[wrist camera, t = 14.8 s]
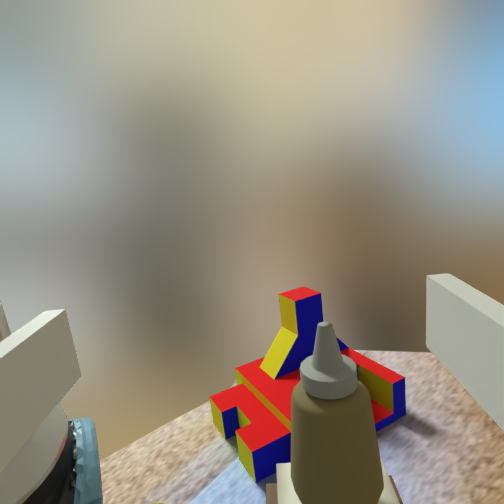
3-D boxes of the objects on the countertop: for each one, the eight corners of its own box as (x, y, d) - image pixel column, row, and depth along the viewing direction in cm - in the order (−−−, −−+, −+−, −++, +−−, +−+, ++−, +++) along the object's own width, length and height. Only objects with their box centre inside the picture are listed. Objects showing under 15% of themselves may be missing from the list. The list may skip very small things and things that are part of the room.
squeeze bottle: (403, 505, 32) (397, 319, 29) (351, 576, 27) (336, 361, 23) (329, 458, 39) (316, 299, 35) (276, 510, 33) (254, 330, 30)
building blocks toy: (208, 416, 61) (192, 314, 57) (325, 365, 72) (318, 276, 68) (265, 498, 44) (248, 363, 40) (405, 416, 55) (403, 303, 51)
